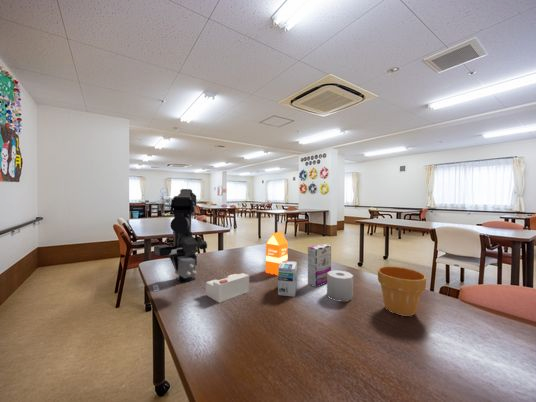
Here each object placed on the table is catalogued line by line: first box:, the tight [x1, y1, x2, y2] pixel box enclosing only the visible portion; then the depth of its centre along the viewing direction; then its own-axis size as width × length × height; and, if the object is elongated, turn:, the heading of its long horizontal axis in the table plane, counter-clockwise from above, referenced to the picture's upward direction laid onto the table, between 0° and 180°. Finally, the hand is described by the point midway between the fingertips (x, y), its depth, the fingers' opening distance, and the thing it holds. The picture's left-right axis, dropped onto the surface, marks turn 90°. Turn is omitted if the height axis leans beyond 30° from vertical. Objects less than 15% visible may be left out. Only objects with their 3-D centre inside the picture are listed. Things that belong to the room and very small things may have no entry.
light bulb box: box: [277, 260, 298, 298], centre depth 95 cm, size 11×7×11 cm, turn 168°
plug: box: [174, 256, 197, 278], centre depth 88 cm, size 10×4×6 cm, turn 45°
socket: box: [205, 272, 250, 304], centre depth 91 cm, size 9×14×7 cm, turn 135°
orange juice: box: [265, 231, 289, 276], centre depth 118 cm, size 8×9×20 cm
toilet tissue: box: [326, 270, 354, 302], centre depth 92 cm, size 9×13×9 cm
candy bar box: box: [307, 243, 332, 288], centre depth 104 cm, size 11×5×16 cm, turn 131°
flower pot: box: [377, 266, 427, 315], centre depth 79 cm, size 14×14×13 cm
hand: (182, 269), depth 90 cm, fingers closed on plug, 4 cm apart
